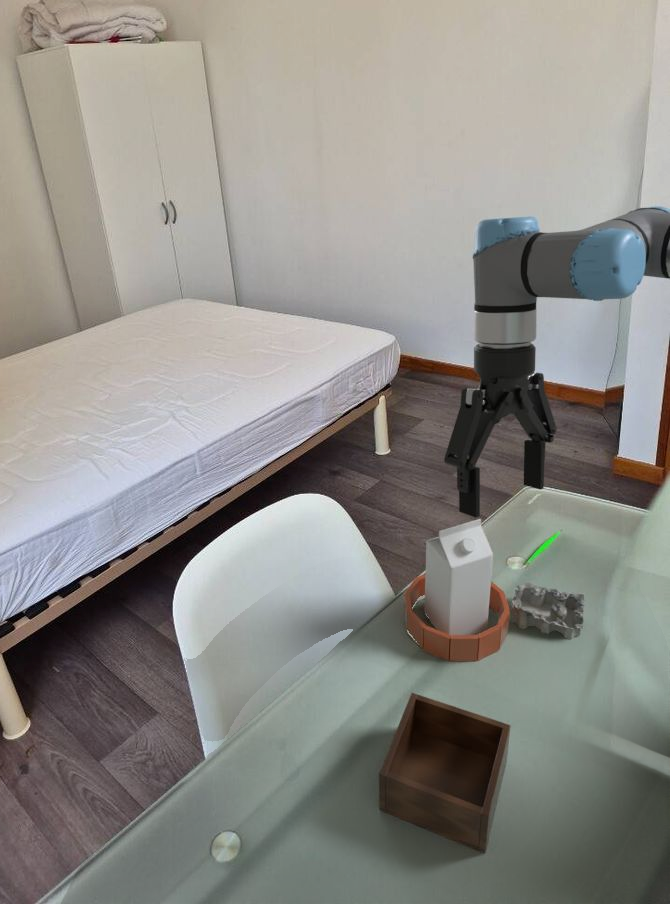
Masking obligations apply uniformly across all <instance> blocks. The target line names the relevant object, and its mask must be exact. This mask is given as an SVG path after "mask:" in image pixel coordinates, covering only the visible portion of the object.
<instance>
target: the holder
mask: <svg viewBox="0 0 670 904" xmlns="http://www.w3.org/2000/svg"><path fill="white" fill-rule="evenodd" d="M511 726H512V725H511V724H508V723H506V722H503V721H500V720H496V719H493V718H491V717H488V716H484V715H481V714H478V713H475V712H472V711H469V710H465V709H464V708H460V707H457V706H453V705H451V704H448V703H444V702H442V701H439V700H436V699H433V698H429V697H426V696H423V695H421V694H417V693H415V692H410V695H409V698H408V701H407V703H406V706H405V708H404V711H403V713H402V716H401V718H400V720H399V723H398V725H397V728H396V730H395V733H394V735H393V738H392V740H391V742H390V745H389V747H388V750H387V753H386V755H385V758H384V760H383V763H382V764H381V767H380V770H379V772H378V807H379V808H378V809H379V811H381V812H383V813H385V814H388V815H390V816H392V817H394V818H398V819H400V820H402V821H405V822H407V823H410V824H412V825H415V826H417V827H419V828H422V829H424V830H426V831H429V832H432V833H434V834H436V835H439V836H441V837H444V838H446V839H449V840H451V841H454V842H456V843H458V844H460V845H463V846H465V847H467V848H470V849H473V850H476V851H477V852H480V853H482V854H486V852H487V848H488V843H489V839H490V835H491V831H492V827H493V822H494V818H495V813H496V809H497V805H498V801H499V797H500V792H501V787H502V783H503V779H504V775H505V771H506V766H507V762H508V753H509V744H510V735H511Z"/></svg>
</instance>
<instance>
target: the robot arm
mask: <svg viewBox="0 0 670 904" xmlns="http://www.w3.org/2000/svg"><path fill="white" fill-rule="evenodd" d="M472 260H473V261H472V262H473V280H474V282H473V283H474V305H473V306H474V307H473V309H474V323H473V324H474V331H473V332H474V333H473V334H474V335H473V336H474V338H473V339H474V341H475V342H477V344H476V345H475V346H474V347H473V371H474V373H475V374H476V375H477V376H478V377H479V386H478V388H470V387H463V388H462V390H461V393H460V394H461V395H460V406H459V409H458V413H457V416H456V419H455V422H454V425H453V428H452V431H451V436H450V439H449V442H448V445H447V448H446V452H445V455H444V458H443V462H444V464H445V465H449V466H452V467H455V468H456V488H457V491H458V512H459V513H461V514H465V515H467V516H470V517H473V518H479V517H480V516H481V512H480V511H481V508H480V507H481V488H480V487H481V468H480V467H478V466H476V464H477V463H478V461H479V458H480V456H481V455H482V452H483V450H484V448H485V446H486V445H487V442H488V440H489V439H490V436H491V434H492V431H493V430H494V428H495V426H496V424H499V423H500V422H501V420H502V418H506V417H508V416H509V415H511V414H512V415H514V416H515V418H516V420H517V421H518V423H519V424H520V426H521V428H522V429H523V431H524V432H525V434H526V435H527V437H528V438H529V439H526V440H524V441H523V442H524V443H523V445H524V446H523V486H527V487H530V488H533V489H537V490H543V489H544V487H545V461H546V443H548V444H552V443H553V442H554V439H555V436H554V435H555V434H556V433H557V425H556V422H555V419H554V415H553V412H552V408H551V406H550V403H549V399H548V395H547V392H546V389H545V375H544V373H542V372H535V371H536V346H535V345H534V344H533V343H532V342H534V341H535V340H536V339H537V300H538V299H537V298H551V299H552V298H553V299H572V300H576V299H577V300H589V301H595V302H602V301H604V300H622V299H626V298H628V297H630V296H631V295H633V294H634V293H635V292H636V290H637V287H638V286H639V285H641V283H642V282H643V281H642V280H643V278H644V277H650V278H651V277H653V278H658V279H659V278H661V279H667V280H668V279H669V280H670V209H669V208H667V207H665V206H656V205H655V206H649V207H639V208H636V209H634V210H630V211H629V212H627V213H625V214H622V215H619V216H616V217H614V218H611V219H608V220H605V221H602V222H600V223H597V224H594V225H590V226H588V227H585V228H582V229H579V230H570V231H569V230H568V231H557V232H556V231H555V232H553V231H552V232H542V231H540V228H539V221H538V219H537V218H536V217H535V216H518V217H505V218H504V217H503V218H489V219H487V218H486V219H483V220H481V221H479V222H478V223H477V224H476V226H475V229H474V243H473V253H472Z"/></svg>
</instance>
